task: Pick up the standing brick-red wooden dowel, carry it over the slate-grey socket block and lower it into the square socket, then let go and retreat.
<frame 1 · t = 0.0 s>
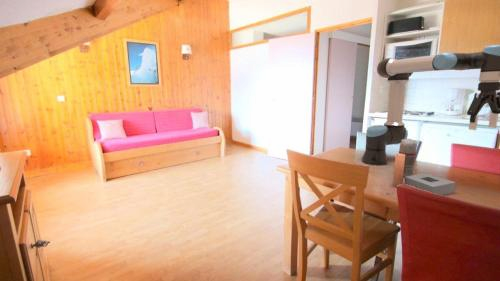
hand: (482, 128, 119), 28 cm above the table, fingers open, 13 cm apart
dowel: (397, 185, 127), on the table
spray can: (404, 175, 141), on the table
socket block: (428, 189, 122), on the table
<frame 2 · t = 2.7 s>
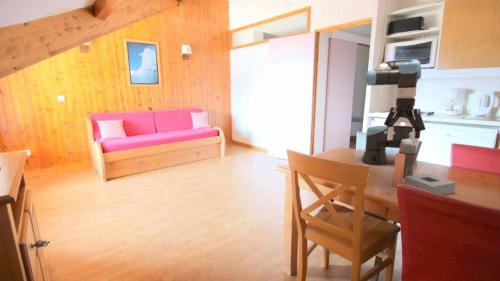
hand: (401, 142, 123), 22 cm above the table, fingers open, 13 cm apart
nothing on the table moved.
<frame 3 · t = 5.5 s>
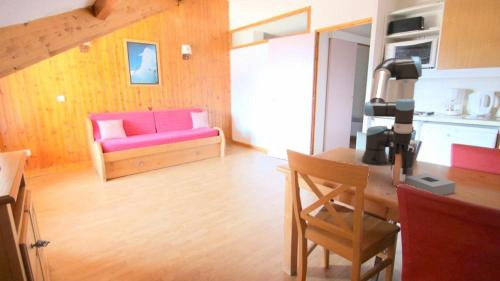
hand: (398, 178, 127), 4 cm above the table, fingers closed on dowel, 4 cm apart
dowel: (397, 185, 127), on the table, touching gripper
everything else where it was.
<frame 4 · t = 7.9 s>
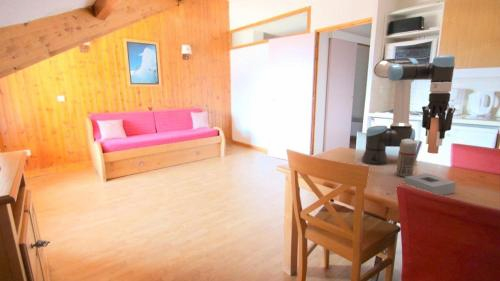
hand: (433, 144, 117), 22 cm above the table, fingers closed on dowel, 4 cm apart
dowel: (432, 152, 118), point 18 cm above the table, touching gripper
everything else where it was.
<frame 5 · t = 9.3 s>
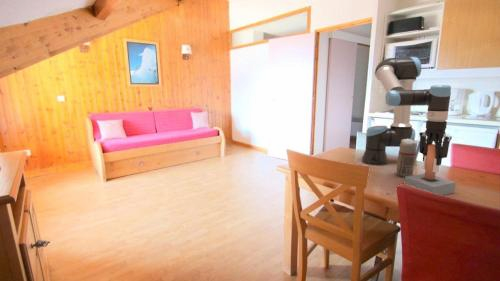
hand: (430, 170, 120), 10 cm above the table, fingers closed on dowel, 4 cm apart
dowel: (429, 178, 120), point 6 cm above the table, touching gripper
everything else where it was.
when the fingers open (6 cm above the table, at t = 10.6 s): dowel drops 2 cm, resting in socket block.
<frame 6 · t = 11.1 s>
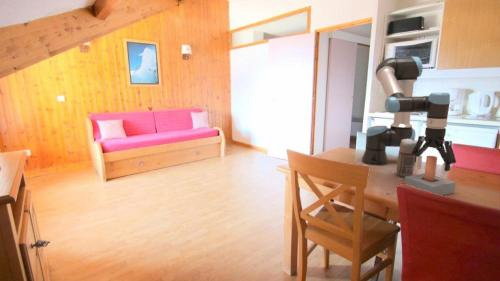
hand: (430, 173, 120), 8 cm above the table, fingers open, 12 cm apart
dowel: (428, 189, 122), resting in socket block
everything else where it was.
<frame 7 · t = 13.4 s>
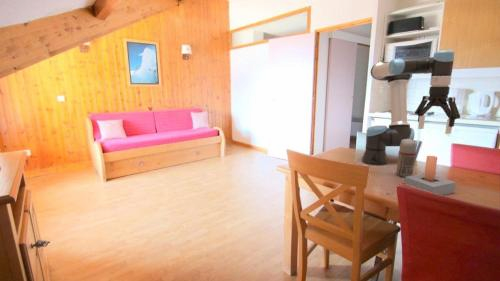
hand: (433, 131, 123), 27 cm above the table, fingers open, 13 cm apart
nothing on the table moved.
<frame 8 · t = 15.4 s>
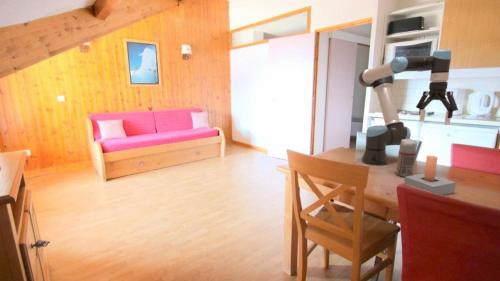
hand: (433, 122, 135), 29 cm above the table, fingers open, 13 cm apart
nothing on the table moved.
at the end: dowel 0.1 cm off-centre on the socket block, point 0.0 cm above the socket block's base; dowel tilted 0°; the gripper is holding nothing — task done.
